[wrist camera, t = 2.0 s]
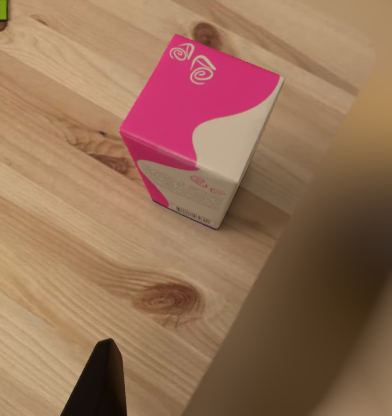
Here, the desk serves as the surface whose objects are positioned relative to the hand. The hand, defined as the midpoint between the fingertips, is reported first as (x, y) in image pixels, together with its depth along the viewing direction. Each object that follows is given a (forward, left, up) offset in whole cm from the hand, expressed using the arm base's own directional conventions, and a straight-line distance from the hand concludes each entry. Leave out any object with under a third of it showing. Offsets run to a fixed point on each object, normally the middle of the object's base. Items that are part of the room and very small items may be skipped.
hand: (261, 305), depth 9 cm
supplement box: (+6, -5, -14) cm, 16 cm away
